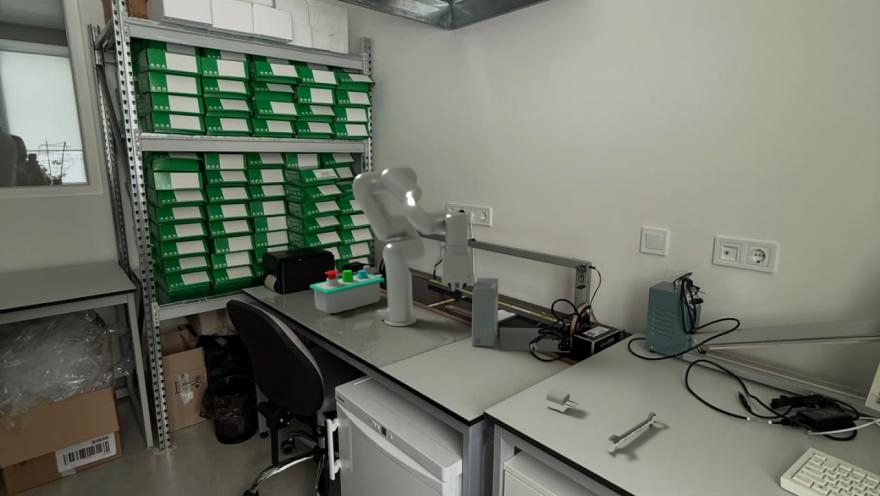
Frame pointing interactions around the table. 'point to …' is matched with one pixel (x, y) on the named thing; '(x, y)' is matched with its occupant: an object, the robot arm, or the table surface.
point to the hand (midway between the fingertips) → (457, 301)
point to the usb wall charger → (559, 397)
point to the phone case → (505, 316)
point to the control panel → (347, 291)
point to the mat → (525, 340)
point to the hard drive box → (485, 312)
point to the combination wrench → (616, 438)
